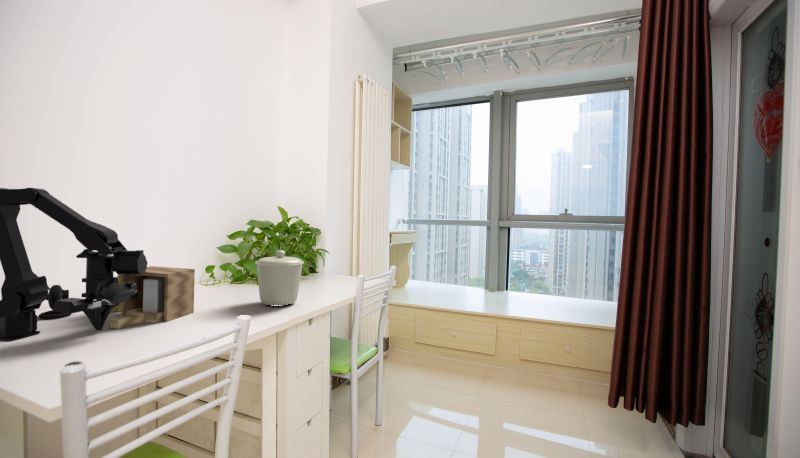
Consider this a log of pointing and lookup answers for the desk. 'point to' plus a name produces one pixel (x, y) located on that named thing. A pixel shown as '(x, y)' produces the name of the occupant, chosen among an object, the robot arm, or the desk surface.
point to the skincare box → (154, 294)
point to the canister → (279, 279)
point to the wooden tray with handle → (135, 318)
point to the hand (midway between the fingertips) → (98, 330)
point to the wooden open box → (176, 290)
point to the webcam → (53, 296)
